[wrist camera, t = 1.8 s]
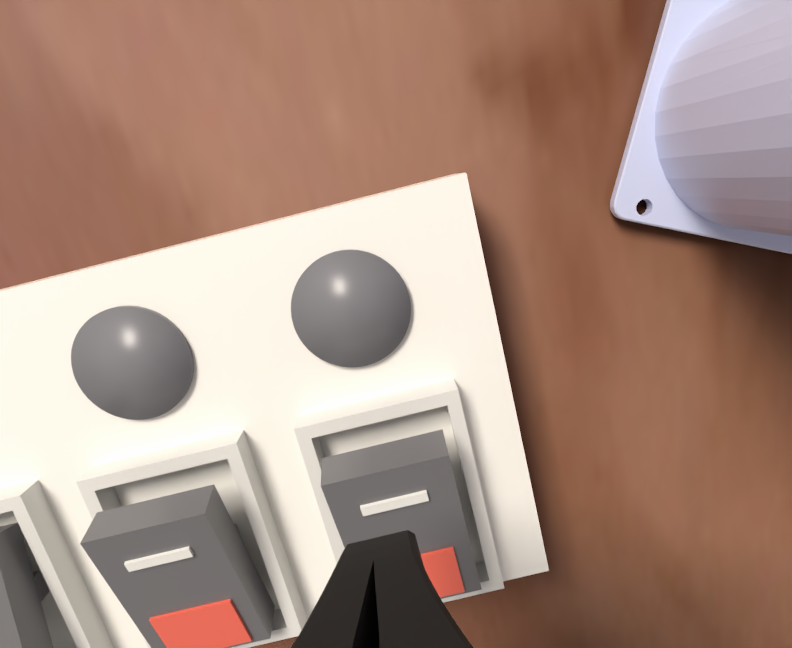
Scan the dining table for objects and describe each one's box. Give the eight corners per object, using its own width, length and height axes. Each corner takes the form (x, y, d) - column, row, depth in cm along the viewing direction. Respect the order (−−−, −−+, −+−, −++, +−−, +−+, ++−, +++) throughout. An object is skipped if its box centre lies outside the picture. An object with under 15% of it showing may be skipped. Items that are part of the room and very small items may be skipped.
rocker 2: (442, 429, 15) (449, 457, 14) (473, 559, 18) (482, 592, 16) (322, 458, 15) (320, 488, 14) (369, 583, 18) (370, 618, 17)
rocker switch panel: (452, 174, 18) (471, 171, 14) (525, 517, 21) (557, 589, 17) (-158, 329, 19) (-293, 366, 15) (1, 640, 22) (-77, 736, 18)
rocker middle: (213, 484, 15) (204, 516, 14) (274, 605, 18) (270, 641, 17) (96, 512, 16) (78, 546, 14) (172, 629, 18) (161, 666, 17)
